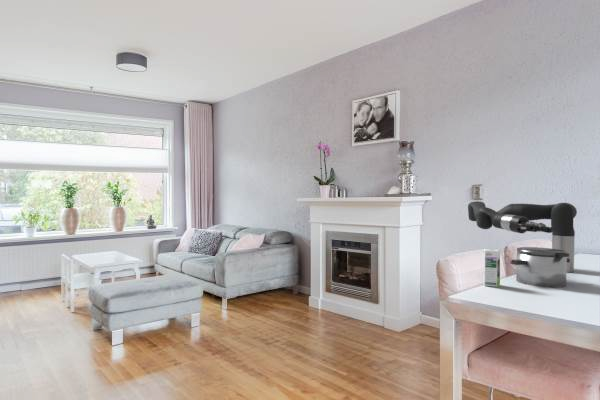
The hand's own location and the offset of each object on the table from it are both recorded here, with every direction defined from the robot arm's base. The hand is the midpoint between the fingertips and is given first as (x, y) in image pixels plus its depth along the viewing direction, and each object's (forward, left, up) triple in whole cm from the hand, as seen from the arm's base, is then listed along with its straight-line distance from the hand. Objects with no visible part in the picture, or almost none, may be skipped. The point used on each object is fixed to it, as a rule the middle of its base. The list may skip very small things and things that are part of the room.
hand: (551, 230), depth 167 cm
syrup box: (+24, -12, -22) cm, 35 cm away
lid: (+1, -2, -10) cm, 10 cm away
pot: (+1, -3, -22) cm, 22 cm away
